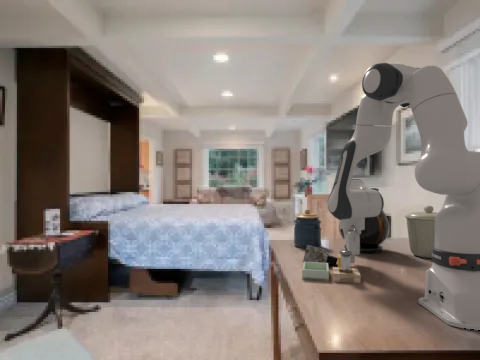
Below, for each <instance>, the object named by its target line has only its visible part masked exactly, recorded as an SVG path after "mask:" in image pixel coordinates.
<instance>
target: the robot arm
mask: <svg viewBox="0 0 480 360" xmlns="http://www.w3.org/2000/svg"><path fill="white" fill-rule="evenodd" d="M361 87H362V92H363V95H362V97H361V99H360V102H359V105H358V109H357V114H356V120H355V121H356V122H355V129H354V132H353V134H352V136H351V138H350V140H348V141H347V142H346V143H345V144H344V146H343V148H342V152H341V154H340V159H339V163H338V166H337V170H336V174H335V178H334V181H333V182H334V183H333V186H332V188H331V191H330V194H329V196H328V200H327V209H328V211H329V213H330V214H331V215H332V216H333V217H334V218H335V219H337V220H339V221H338V229H339V228H340V229H343V233H344V239H343V240H344V246H345V245H346V247H347V249H346V250H349V251H352V255H351V264H355V262H356V256H357V255H360V254H361V253H360V237H359V234H361V230H364V229H365V218H368V217H376V216H378V215H380V213H381V212H382V210H383V211H384V206H385V201H384V197H383V195H382V194H381V192H380V191H377V190H373V189H371V188H372V187H369V186H367V185H366V184H365V182H364V181H363V180H362V179H358V178H353V176H354V172H355V168H356V166H357V165H358V164H359V163H360V161H361V160H364V159H365V158H367V157H369V156H371V155H375V154H378V153H379V152H381V151H382V150H383V149H384V148H386V147H387V146H388V144H389V143H390V141H391V137H392V129H393V117H394V112H395V110H396V109H397V108H398V107H399V106H400V107H401V108H406V107H409V108H410V109H411V113H412V115H413V118H414V122H415V125H416V128H417V130H418V134H419V136H420V143H421V145H420V146H421V150H420V158H419V159H418V160H417V162H416V164H415V167H414V177H415V178H414V179H415V180H416V182H417V184H418V185H419V187H421V189H424V190H425V191H428V192H431V193H432V194H433V193H434V194H437V195H443V196H445V199H444V201H443V204H442V207H441V209H440V210H439V211H438V212H437V213H438V214H437V215H436V217H435V247H433V252H432V258H431V259H432V260H431V261H432V262H433V263H432V265H431V266H430V267H429V268H428V269H427V270H426V271H425V285H424V296H422V297H419V298H418V304H419V305H421V306H422V307H424V308H425V309H427V310H428V311H429V312H430V313H431V314H434V315H435V317H437V318H438V319H440V320H441V321H442V322H444V323H445V324H446V325H449V326H452V327H456V328H460V329H464V328H466V329H465V330H470V329H474V330H473V331H478V330H480V151H474V150H473V151H472V150H471V151H470V150H468V148H467V146H466V142H465V141H466V140H465V131H466V128H467V127H468V119H467V116H466V114H465V111H464V110H463V107H462V103H461V102H460V99H459V96H458V94H457V92H456V90H455V87H454V86H453V84H452V82H451V80H450V78H448V76H447V74H446V73H445V72H444V71H443V70H442V68H440V67H439V66H438V65H425V66H422V67H414V66H410V65H405V64H403V63H401V64H400V63H388V62H381V63H380V62H379V63H374V64H373V65H371V66H369V67H368V68H367V70H366V71H365V73H364V75H363V77H362V80H361Z"/></svg>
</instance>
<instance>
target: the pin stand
mask: <svg viewBox="0 0 480 360" xmlns="http://www.w3.org/2000/svg"><path fill="white" fill-rule="evenodd" d="M332 281H333V282H334V283H336V282H337V283H338V282H339V283H353V284H361V273H360V271H359V269H358V268H356V267H355V268H354V267H353V268H352V267H351V273H343V272H341V268H338V266H337V267H336V266H335V267H334V266H332Z"/></svg>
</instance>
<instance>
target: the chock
mask: <svg viewBox="0 0 480 360" xmlns="http://www.w3.org/2000/svg"><path fill="white" fill-rule="evenodd" d="M337 268H341V254H340V253H337Z"/></svg>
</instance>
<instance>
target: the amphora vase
mask: <svg viewBox="0 0 480 360" xmlns="http://www.w3.org/2000/svg"><path fill="white" fill-rule="evenodd" d="M370 188H371V189H373V190H377V191H378V192H380V190H379V188H377V187H370ZM338 232H339V234H340V236H341V238H342V239H343V240H344V233H343V229H340V228H339V227H338ZM389 235H390V225H389V220H388V217H387V215H386V213H385V211H384V209H383V210H382V212H381V213H380V215H378V216H376V217H368V218H365V229H364V230H361V234H359V237H360V253H359V254H361V253H362V254H375V253H380V252H382V251H383V250H384V247H383V246H382V245H381V244H383V243H384V242H385V241H386V239H387V238H388V237H389ZM344 248H345V250H347V247H346V245H345V244H344Z"/></svg>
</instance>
